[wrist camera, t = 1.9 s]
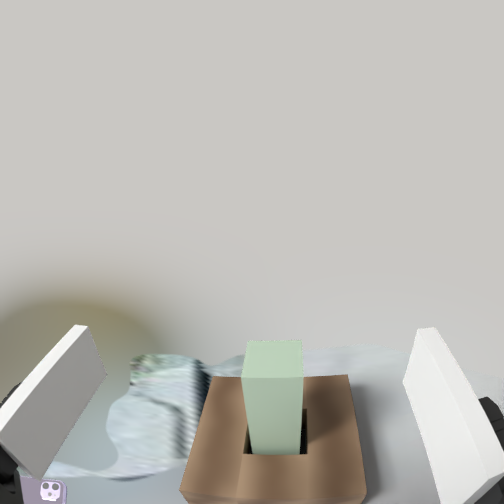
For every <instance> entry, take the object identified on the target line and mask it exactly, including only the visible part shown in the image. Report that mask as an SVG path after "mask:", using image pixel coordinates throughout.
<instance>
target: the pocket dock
mask: <svg viewBox="0 0 504 504" xmlns="http://www.w3.org/2000/svg"><path fill="white" fill-rule="evenodd" d="M302 429H305V439H306V454H301V455H260V454H249V452H250V445H251V440H250V434H249V428H248V421H247V415H246V408H245V402H244V395H243V388H242V381H241V377H219V376H213V378H212V381H211V385H210V388H209V391H208V395H207V398H206V401H205V405H204V408H203V412H202V415H201V418H200V422H199V425H198V428H197V432H196V435H195V438H194V442H193V445H192V448H191V452H190V455H189V459H188V462H187V465H186V469H185V472H184V475H183V479H182V482H181V485H180V489H179V491H180V492H181V493H182V495H183V496H184V498H185V499H186V501H187V502H188V503H189V504H361V503H362V501H363V499H364V498H365V496H366V494H367V489H366V482H365V474H364V467H363V460H362V453H361V447H360V440H359V434H358V428H357V422H356V417H355V411H354V405H353V400H352V395H351V389H350V384H349V379H348V375H334V376H316V377H303V402H302V421H301V430H302Z"/></svg>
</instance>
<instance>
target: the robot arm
mask: <svg viewBox="0 0 504 504" xmlns="http://www.w3.org/2000/svg"><path fill="white" fill-rule="evenodd" d="M106 376H107V373H106V370H105V368H104V366H103V363H102V361H101V359H100V356H99V354H98V351H97V349H96V346H95V344H94V341H93V338H92V336H91V333H90V330H89V328H88V326H80V325H75V326H74V327H73V328H72V329H71V330H70V331H69V332H68V333H67V334H66V335H65V336H64V337H63V338H62V339H61V340H60V341H59V342H58V344H57V345H56V346H55V347H54V348H53V349H52V350H51V351H50V352H49V353H48V354H47V355H46V356H45V357H44V359H43V360H42V361H41V362H40V363H39V364H38V365H37V366H36V367H35V369H34V370H33V371H32V372H31V373H30V374H29V375H28V376H27V378H26V379H25V380H24V381H22V382H21V383H19V384H18V385H16V386H15V387H14V388H13V389H12V390H11V391H10V392H9V394H8V395H7V397H5V398H4V399H3V401H2V403H0V504H24V500H23V494H22V488H21V481H20V475H19V472H18V471H17V469H16V468H17V467H18V466H19V467H20V468H21V469H22V470H23V471H24V472H25V473H26V474H27V475H29V476H31V477H32V478H34V479H36V480H38V481H41V479H42V478H43V476H44V474H45V473H46V471H47V469H48V467H49V466H50V464H51V462H52V461H53V459H54V457H55V456H56V454H57V452H58V451H59V449H60V447H61V446H62V444H63V442H64V441H65V439H66V438H67V436H68V435H69V433H70V431H71V430H72V428H73V427H74V425H75V423H76V422H77V420H78V419H79V417H80V415H81V414H82V412H83V411H84V409H85V408H86V406H87V405H88V403H89V402H90V400H91V398H92V397H93V395H94V394H95V392H96V391H97V389H98V388H99V386H100V385H101V383H102V381H103V380H104V379H105V377H106ZM403 384H404V387H405V390H406V393H407V395H408V398H409V401H410V404H411V406H412V409H413V412H414V415H415V418H416V421H417V424H418V427H419V430H420V433H421V436H422V439H423V442H424V445H425V449H426V452H427V455H428V458H429V462H430V465H431V469H432V472H433V476H434V480H435V483H436V487H437V491H438V495H439V499H440V503H441V504H504V416H503V414H502V413H501V411H500V409H499V407H498V405H496V404H495V403H494V402H493V401H492V400H491V399H490V398H488V397H484V398H481V399H477V397H476V395H475V393H474V391H473V389H472V388H471V386H470V384H469V382H468V380H467V379H466V377H465V375H464V373H463V372H462V370H461V368H460V367H459V365H458V363H457V362H456V360H455V358H454V357H453V355H452V354H451V352H450V350H449V349H448V347H447V345H446V344H445V342H444V341H443V339H442V337H441V336H440V334H439V333H438V331H437V330H436V328H435V327H433V328H424V329H418V330H417V334H416V338H415V342H414V346H413V349H412V353H411V356H410V360H409V363H408V366H407V370H406V373H405V376H404V379H403Z"/></svg>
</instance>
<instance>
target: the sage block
mask: <svg viewBox="0 0 504 504" xmlns="http://www.w3.org/2000/svg"><path fill="white" fill-rule="evenodd" d="M241 381H242V388H243V395H244V402H245V408H246V415H247V421H248V428H249V434H250V440H251V447H252V453H253V454H260V455H299V453H300V438H301V421H302V402H303V354H302V340H288V341H248V344H247V349H246V354H245V359H244V364H243V369H242V374H241Z"/></svg>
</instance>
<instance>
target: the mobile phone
mask: <svg viewBox="0 0 504 504" xmlns="http://www.w3.org/2000/svg"><path fill="white" fill-rule="evenodd" d="M20 481H21V488H22V494H23V500H24V504H66V497H67V487H66V485H65V483H63V482H61V481H59V480H48V479H41V481H38V480H36V479H34V478H31V477H24V476H20Z"/></svg>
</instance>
